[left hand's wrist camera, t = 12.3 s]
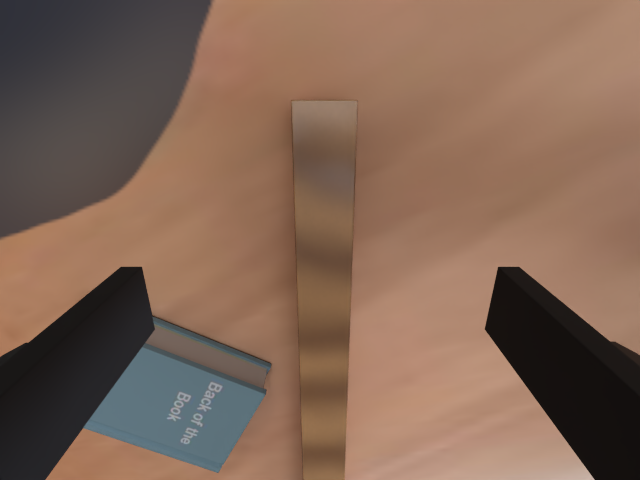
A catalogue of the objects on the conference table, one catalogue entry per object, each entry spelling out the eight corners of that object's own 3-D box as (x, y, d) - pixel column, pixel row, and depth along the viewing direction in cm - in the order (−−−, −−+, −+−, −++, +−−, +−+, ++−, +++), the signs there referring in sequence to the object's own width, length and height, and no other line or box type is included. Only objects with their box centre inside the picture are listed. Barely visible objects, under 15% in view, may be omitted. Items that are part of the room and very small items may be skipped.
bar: (297, 100, 33) (290, 100, 25) (349, 100, 33) (357, 99, 25) (309, 561, 61) (307, 624, 54) (337, 561, 61) (339, 624, 54)
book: (271, 364, 44) (265, 394, 40) (225, 442, 50) (215, 477, 45) (96, 293, 40) (67, 318, 36) (67, 386, 46) (38, 418, 41)
